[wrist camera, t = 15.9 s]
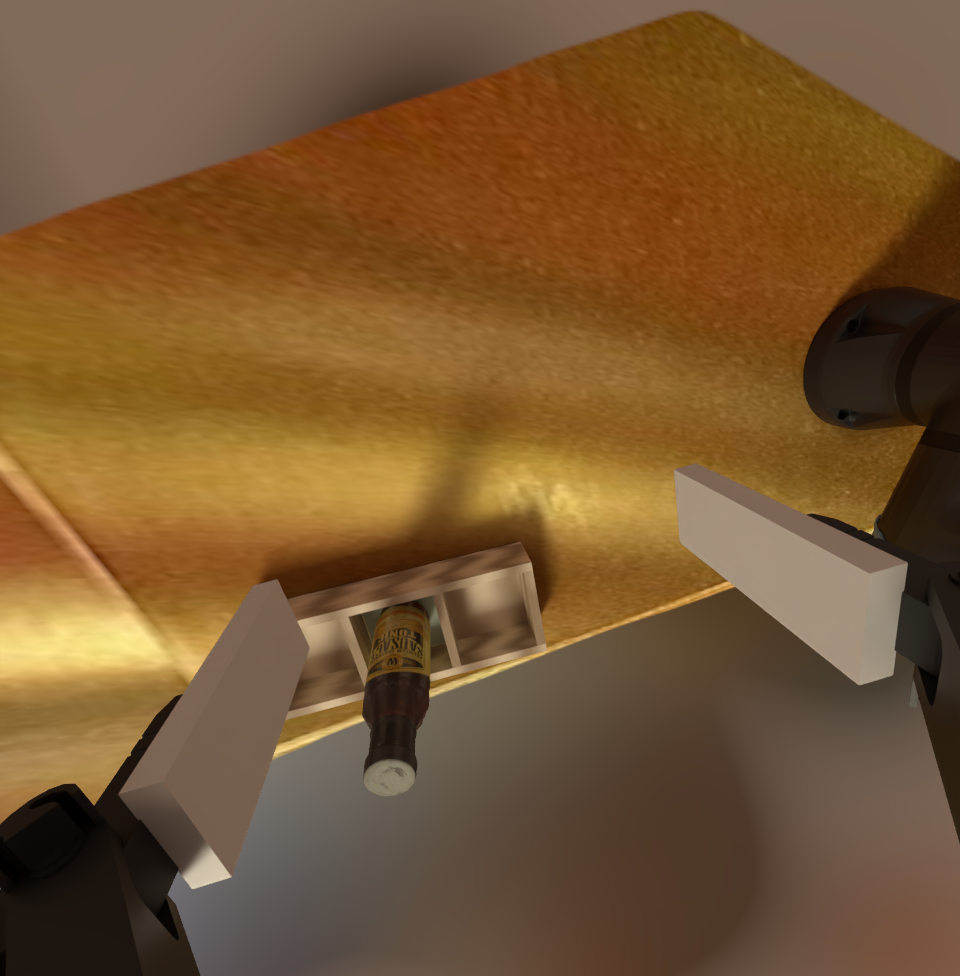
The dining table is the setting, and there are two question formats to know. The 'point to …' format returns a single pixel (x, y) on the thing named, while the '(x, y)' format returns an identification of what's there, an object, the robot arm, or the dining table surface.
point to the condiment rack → (452, 615)
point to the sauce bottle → (396, 696)
